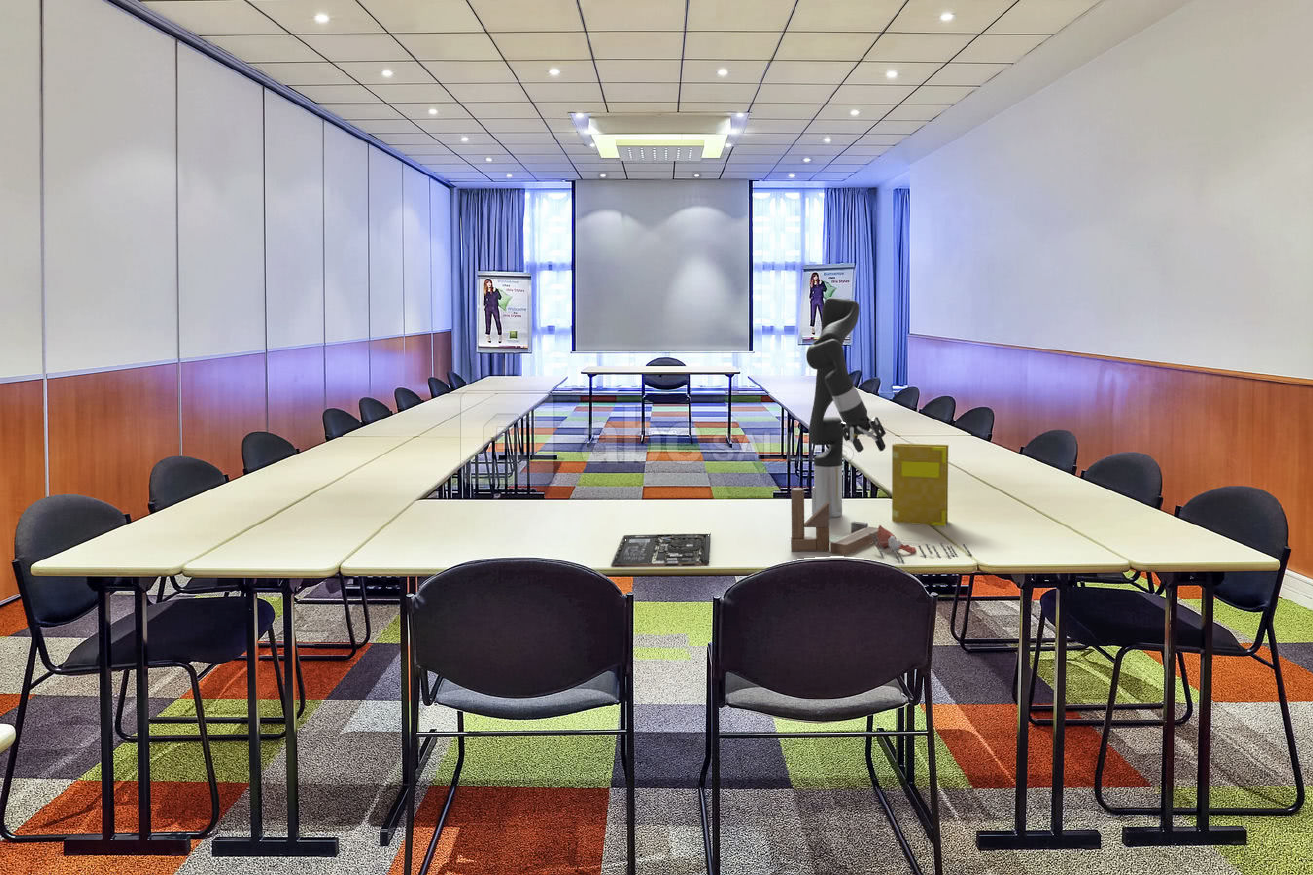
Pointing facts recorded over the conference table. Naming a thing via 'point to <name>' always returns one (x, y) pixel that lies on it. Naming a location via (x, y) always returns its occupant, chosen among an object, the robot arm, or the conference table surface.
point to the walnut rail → (854, 539)
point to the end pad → (833, 537)
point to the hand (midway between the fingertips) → (871, 450)
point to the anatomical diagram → (891, 541)
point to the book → (920, 484)
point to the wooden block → (808, 525)
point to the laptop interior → (663, 550)
